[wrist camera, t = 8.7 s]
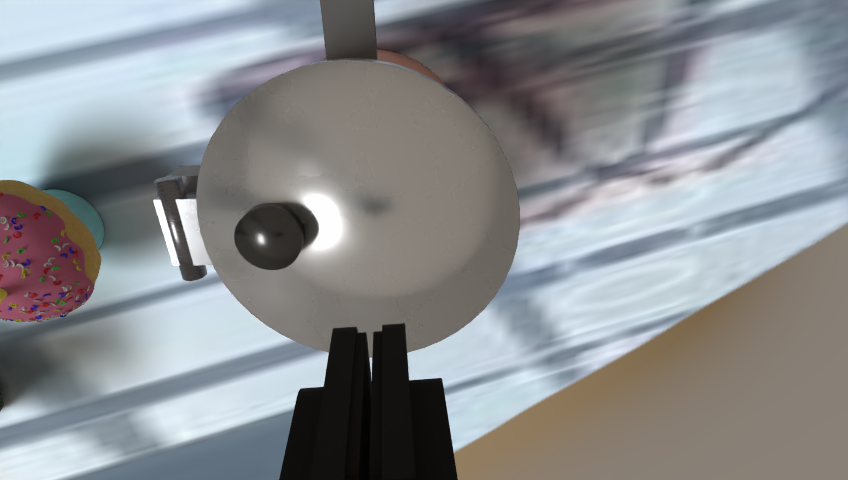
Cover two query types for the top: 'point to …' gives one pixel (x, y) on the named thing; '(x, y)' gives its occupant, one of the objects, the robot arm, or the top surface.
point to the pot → (339, 51)
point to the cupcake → (46, 252)
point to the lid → (349, 205)
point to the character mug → (1, 402)
